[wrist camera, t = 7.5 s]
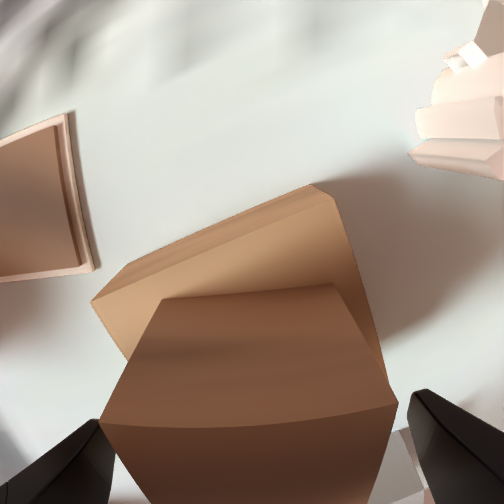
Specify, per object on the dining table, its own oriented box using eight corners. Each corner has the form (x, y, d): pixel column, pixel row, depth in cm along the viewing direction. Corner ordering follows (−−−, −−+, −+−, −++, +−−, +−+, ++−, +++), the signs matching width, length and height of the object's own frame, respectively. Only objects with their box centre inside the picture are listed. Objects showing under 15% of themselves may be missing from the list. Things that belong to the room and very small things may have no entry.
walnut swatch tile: (95, 269, 13) (89, 274, 12) (-3, 281, 13) (-10, 285, 12) (67, 114, 11) (59, 113, 10) (-29, 156, 11) (-37, 157, 10)
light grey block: (402, 464, 18) (422, 515, 13) (338, 487, 18) (349, 541, 13) (398, 429, 16) (424, 489, 11) (322, 456, 17) (335, 521, 12)
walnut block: (329, 406, 11) (360, 521, 6) (194, 417, 11) (174, 532, 6) (332, 282, 9) (398, 402, 4) (161, 299, 9) (98, 422, 5)
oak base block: (363, 343, 14) (392, 397, 11) (212, 396, 15) (204, 456, 12) (307, 183, 12) (333, 198, 8) (129, 261, 13) (89, 302, 9)
